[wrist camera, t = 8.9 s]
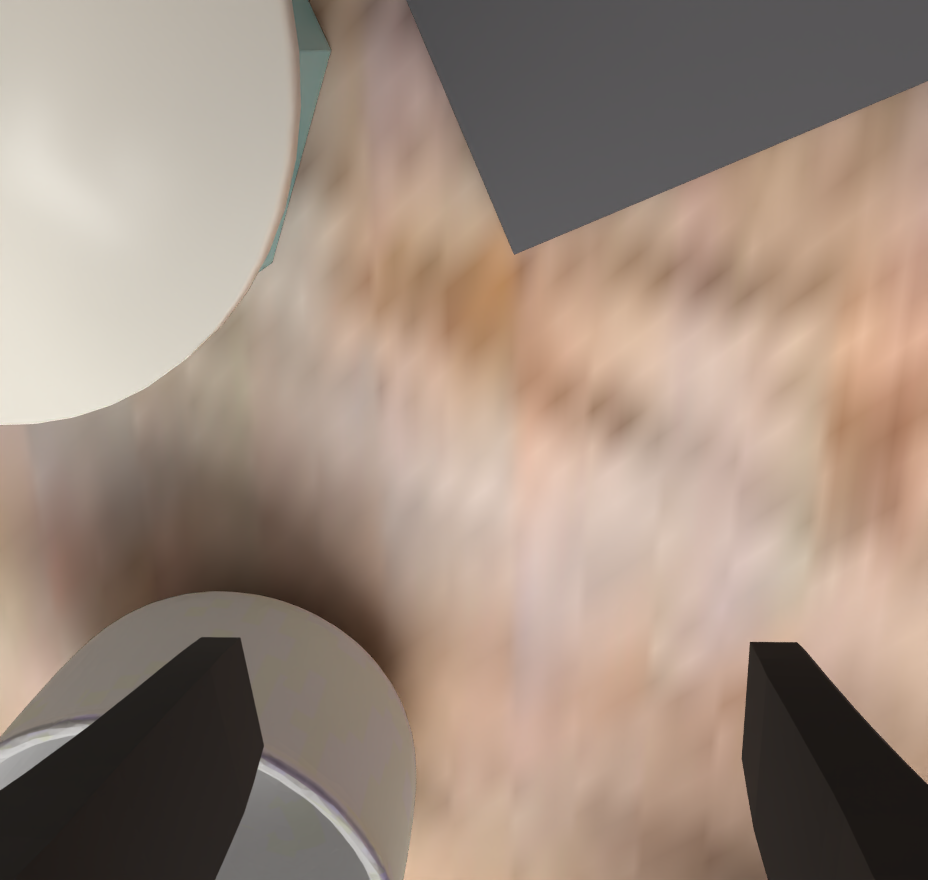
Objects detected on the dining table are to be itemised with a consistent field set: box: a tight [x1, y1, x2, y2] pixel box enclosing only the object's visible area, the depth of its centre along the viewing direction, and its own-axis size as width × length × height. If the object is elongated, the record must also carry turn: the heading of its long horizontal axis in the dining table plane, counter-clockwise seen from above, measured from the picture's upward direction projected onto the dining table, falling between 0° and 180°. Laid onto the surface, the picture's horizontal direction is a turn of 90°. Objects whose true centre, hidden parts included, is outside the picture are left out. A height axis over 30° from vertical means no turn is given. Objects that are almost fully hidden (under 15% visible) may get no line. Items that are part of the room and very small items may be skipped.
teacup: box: [0, 591, 416, 880], centre depth 23 cm, size 14×11×8 cm
